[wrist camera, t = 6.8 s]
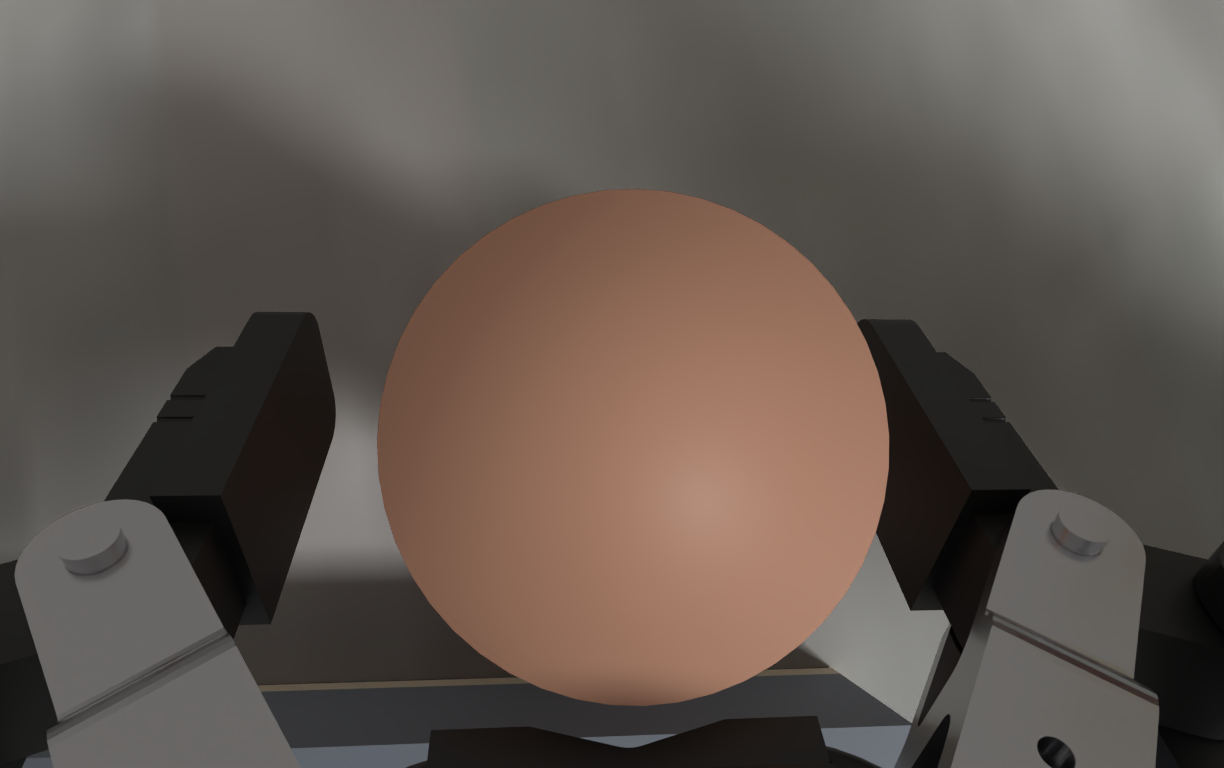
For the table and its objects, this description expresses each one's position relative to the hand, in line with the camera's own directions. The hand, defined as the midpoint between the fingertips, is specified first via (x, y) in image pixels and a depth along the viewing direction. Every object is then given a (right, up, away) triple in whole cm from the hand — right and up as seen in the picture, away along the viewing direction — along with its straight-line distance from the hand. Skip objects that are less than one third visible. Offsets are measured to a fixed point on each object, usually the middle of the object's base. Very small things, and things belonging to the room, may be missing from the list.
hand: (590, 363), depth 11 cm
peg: (0, -2, +6) cm, 7 cm away
